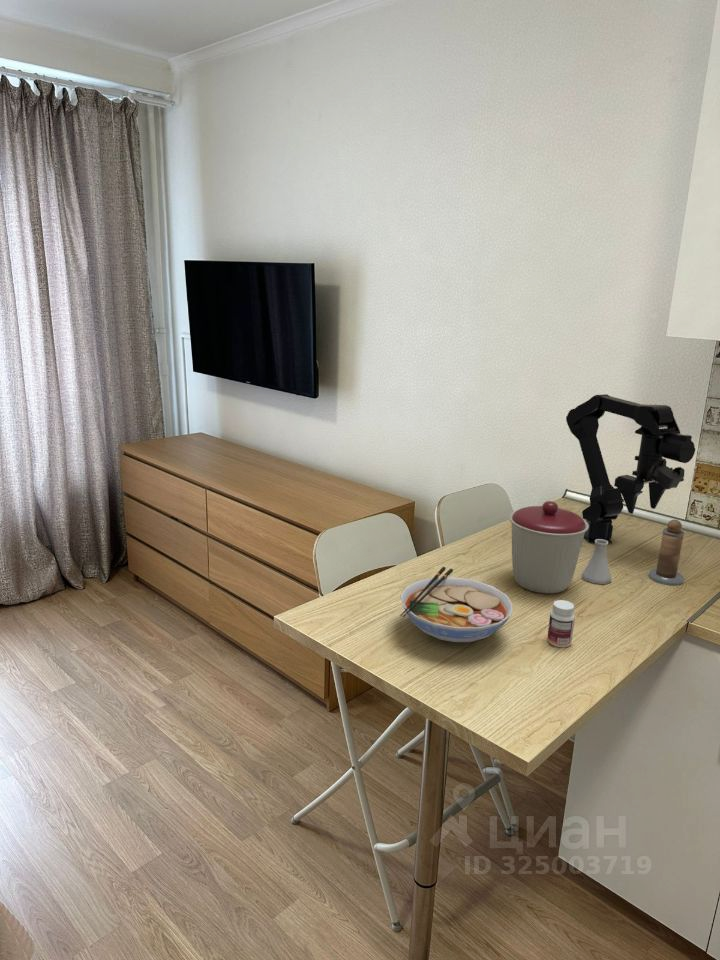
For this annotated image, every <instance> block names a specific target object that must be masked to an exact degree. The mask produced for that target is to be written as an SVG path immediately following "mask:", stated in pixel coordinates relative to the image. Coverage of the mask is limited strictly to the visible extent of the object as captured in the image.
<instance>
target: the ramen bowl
mask: <svg viewBox="0 0 720 960" xmlns="http://www.w3.org/2000/svg"><path fill="white" fill-rule="evenodd" d="M445 570H446V567H445V566H442V567H441V568H440V570H438V572H437V573H436V574H435V575H434V576H433V577H429V578H424V579H420V580H416V581H414V582H413V583H411V584H409V585H407V586H405V587H404V588H403V591H402V592H401V594H400V600H401V603H402V608H403V610H404V611H403V612H402V613H401V614H400V617H403V618H404V617H405V616H408V618H409V619H410V621H411V622H412V623H413V624H414V625H415V626H416V627H417V628H419V629H420V630H421V631H422V632H424V633H425V634H427V635H429V636H432V637H434V638H436V639H438V640H441V641H446V642H453V643H472V642H475V641H479V640H483V639H487V638H488V637H490V636H492V635H493V634H494V633H495V632H497V631H498V630H499V629H500V628H502V627H503V626H504V625H505V624H506V623H507V622H508V620H509V619H510V618H511V616H512V612H513V608H514V604H513V603H512V601H511V599H510V598H509V596H508V595H507V594H506V593H504V592H502V591H501V590H499V589H498V588H497V587H494V586H492V585H489V584H487V583H485V582H484V583H483V582H481V581H479V580H475V579H470V578H462V577H457V576H450V575H451V574H452V573H453V571H454V568H449V569H448V570H447V571H446V573H444V572H445ZM443 573H444V574H443ZM442 574H443V575H442ZM441 575H442V576H441ZM404 613H405V614H404ZM403 614H404V615H403Z"/></svg>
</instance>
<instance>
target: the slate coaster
mask: <svg viewBox="0 0 720 960" xmlns="http://www.w3.org/2000/svg"><path fill="white" fill-rule="evenodd" d="M656 570H657V567H655V568H650V570H649V571H648V577H649V579H651V580H652V581H653V582H656V583H659V584H663V585H665V586H680V585H682V584H683V583H684V579H685V577H684V575H682V574H681V573H680V572H678V571H677V574H676V577H675V578H664V577H661V576H659V575H657V574H656Z"/></svg>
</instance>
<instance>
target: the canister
mask: <svg viewBox="0 0 720 960" xmlns="http://www.w3.org/2000/svg"><path fill="white" fill-rule="evenodd" d="M508 519H509V522H510V523H511V558H512V559H511V561H512V563H511V564H512V575H513V577H514V580H515V582H516V583H517V584H518V585H519V586H521V587H522V588H524V589H526V590H529V591H532V592H535V593H538V594H539V593H540V594H557V593H560V592H563V591H565V590H567V588H569V586H570V585H571V583H572V580H573V578H574V574H575V572H576V567H577V564H578V561H579V557H580V552H581V550H582V549H581V548H582V544H583V541H584V538H585V537H584V533H585V532H586V531H587V530H588V528H589V525H588V523H587V522H586V519H583V517H581V516H580V515H579V514H577V513H575V512H572V511H570V510H568V509H564V508H559V506H558V504H557V503H556V502H555V501H550V500H547V501H545V502H543V503H542V505H533V506H526V507H521V508H519V509H516V510H514V511H512V512H511V513H510V514H509V515H508Z"/></svg>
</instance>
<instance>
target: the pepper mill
mask: <svg viewBox="0 0 720 960" xmlns="http://www.w3.org/2000/svg"><path fill="white" fill-rule="evenodd" d="M682 528H683V525H682V523H681V521H680V520H678V519H671V520H669V521H668V523H667V527H666V528H663V529H662V536H661V543H660V548H659V553H658V554H659V555H658V558H657V566H656V568H657V570H656V574H657V575H659V576H661V577H664V578H675V577H676V574H677V572H678V568H679V561H680V557H681V551H682V546H683V545H682V544H683V540H684V536H685V531H683V530H682Z"/></svg>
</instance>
